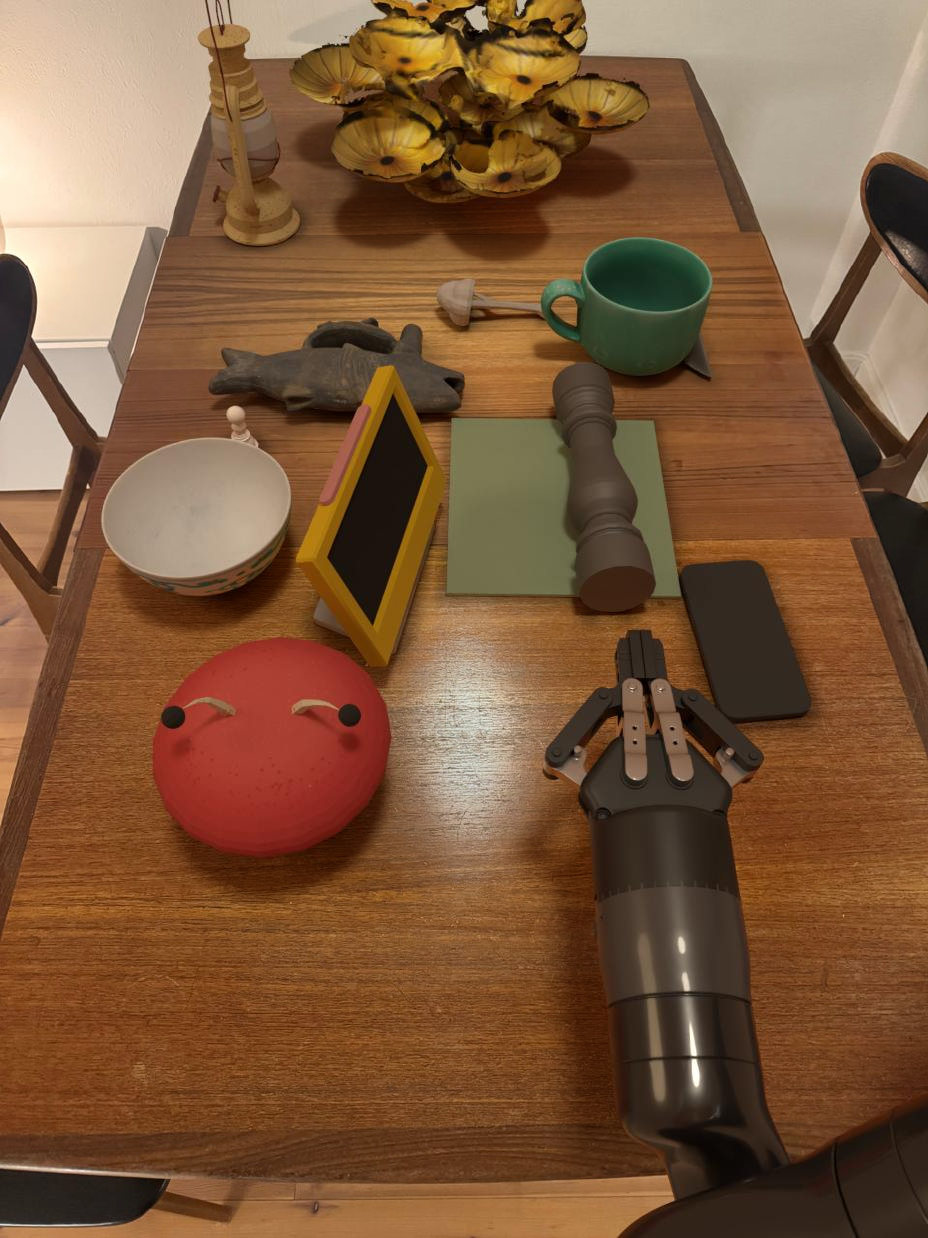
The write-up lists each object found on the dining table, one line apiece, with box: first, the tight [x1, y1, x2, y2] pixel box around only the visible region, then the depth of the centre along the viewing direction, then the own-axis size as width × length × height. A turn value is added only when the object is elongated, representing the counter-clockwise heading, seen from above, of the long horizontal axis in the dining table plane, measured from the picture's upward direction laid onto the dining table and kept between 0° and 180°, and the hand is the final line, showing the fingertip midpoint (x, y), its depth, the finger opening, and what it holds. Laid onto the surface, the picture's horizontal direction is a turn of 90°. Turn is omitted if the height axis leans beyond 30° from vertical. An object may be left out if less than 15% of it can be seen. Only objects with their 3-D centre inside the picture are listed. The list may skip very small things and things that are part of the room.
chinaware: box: [100, 437, 293, 597], centre depth 73 cm, size 15×15×8 cm
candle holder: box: [551, 361, 656, 613], centre depth 78 cm, size 6×6×25 cm
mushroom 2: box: [152, 636, 393, 859], centre depth 58 cm, size 16×16×15 cm
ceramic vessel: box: [207, 317, 466, 414], centre depth 88 cm, size 5×25×15 cm
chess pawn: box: [225, 405, 259, 448], centre depth 82 cm, size 3×3×5 cm
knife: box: [682, 331, 713, 379], centre depth 94 cm, size 14×4×1 cm, turn 1°
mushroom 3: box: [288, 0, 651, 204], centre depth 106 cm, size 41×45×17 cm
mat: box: [445, 417, 682, 600], centre depth 80 cm, size 20×22×1 cm
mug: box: [540, 236, 714, 377], centre depth 89 cm, size 17×13×10 cm
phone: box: [679, 559, 812, 723], centre depth 72 cm, size 7×1×15 cm
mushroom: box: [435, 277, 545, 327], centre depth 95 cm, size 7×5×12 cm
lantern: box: [197, 0, 301, 247], centre depth 94 cm, size 12×10×30 cm
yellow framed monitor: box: [295, 365, 448, 668], centre depth 69 cm, size 20×8×16 cm, turn 167°
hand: (636, 636), depth 55 cm, fingers closed
